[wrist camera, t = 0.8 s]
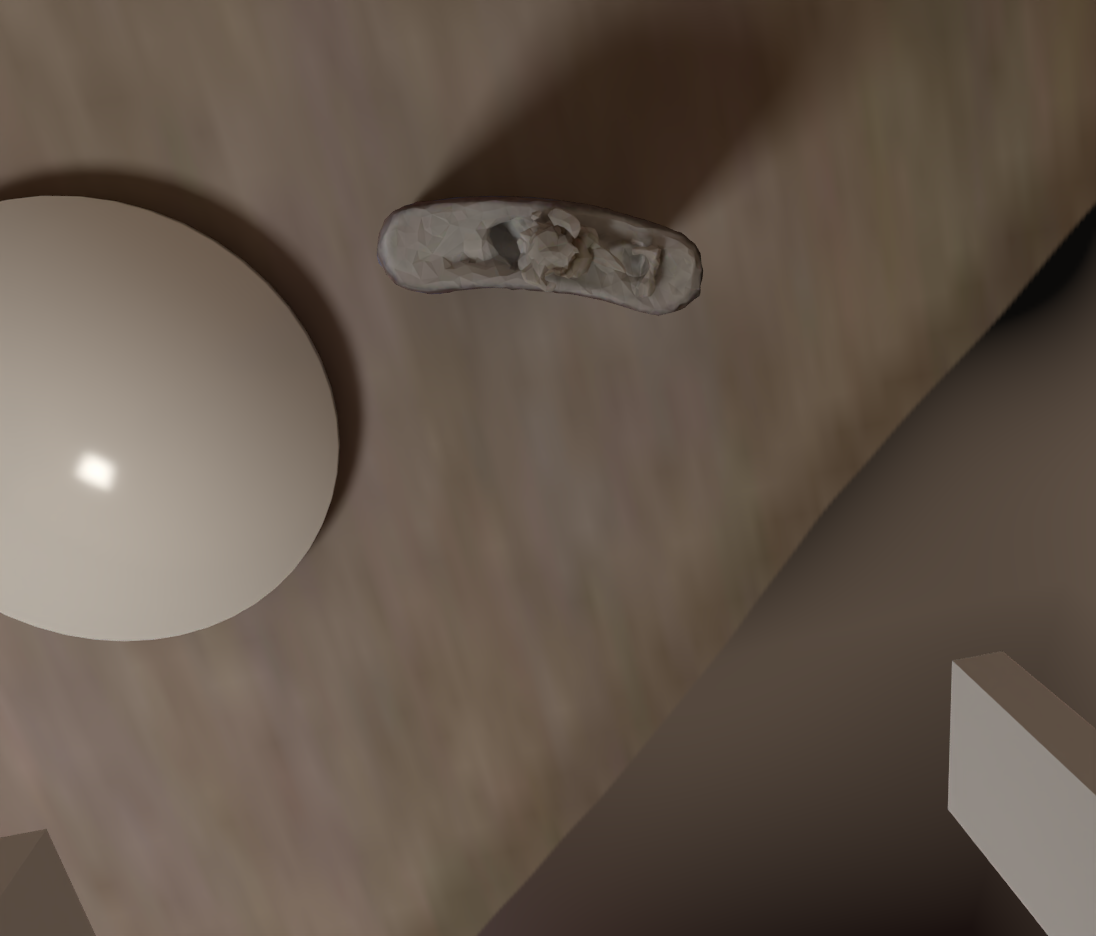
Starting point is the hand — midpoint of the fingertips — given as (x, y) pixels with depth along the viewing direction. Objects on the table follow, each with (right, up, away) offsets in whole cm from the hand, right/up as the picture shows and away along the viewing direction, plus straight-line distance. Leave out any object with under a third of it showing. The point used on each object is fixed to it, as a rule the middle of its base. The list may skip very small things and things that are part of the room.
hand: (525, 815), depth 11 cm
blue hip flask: (-1, +14, +18) cm, 23 cm away
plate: (-16, +7, +18) cm, 25 cm away
